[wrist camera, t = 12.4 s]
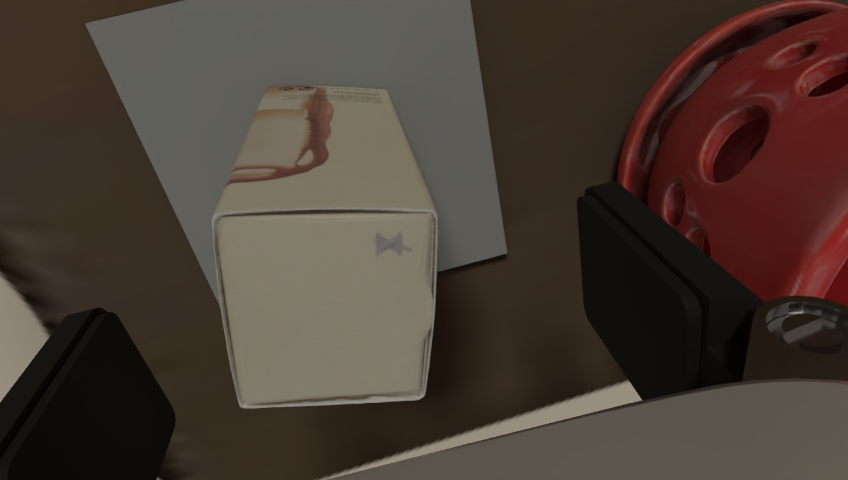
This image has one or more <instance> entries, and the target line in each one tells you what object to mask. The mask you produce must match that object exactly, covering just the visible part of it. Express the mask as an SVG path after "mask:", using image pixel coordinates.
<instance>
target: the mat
mask: <svg viewBox="0 0 848 480" xmlns="http://www.w3.org/2000/svg"><path fill="white" fill-rule="evenodd" d="M86 27H87V29H88V31H89V33H90V35H91V37H92V39H93V41H94V43H95V45H96V47H97V50H98V52H99V54H100V56H101V58H102V60H103V62H104V64H105V66H106V68H107V71H108V73H109V75H110V77H111V79H112V81H113V83H114V85H115V87H116V89H117V92H118V94H119V96H120V98H121V100H122V102H123V104H124V106H125V108H126V110H127V112H128V115H129V117H130V119H131V121H132V123H133V125H134V127H135V129H136V131H137V133H138V136H139V138H140V140H141V142H142V144H143V146H144V148H145V150H146V152H147V154H148V157H149V159H150V161H151V163H152V165H153V167H154V169H155V171H156V173H157V175H158V178H159V180H160V182H161V184H162V186H163V188H164V190H165V192H166V194H167V196H168V198H169V201H170V203H171V205H172V207H173V209H174V211H175V213H176V215H177V217H178V219H179V222H180V224H181V226H182V228H183V230H184V232H185V234H186V236H187V238H188V240H189V243H190V245H191V247H192V249H193V251H194V253H195V255H196V257H197V259H198V261H199V263H200V266H201V268H202V270H203V272H204V274H205V276H206V278H207V280H208V282H209V284H210V287H211V289H212V291H213V293H214V295H215V297H216V299H217V301H218V303H219V305H220V301H219V291H218V285H217V275H216V267H215V253H214V246H213V232H212V217H213V214H214V212H215V210H216V208H217V205H218V203H219V201H220V198H221V196H222V194H223V191H224V189H225V187H226V184H227V182H228V180H229V177H230V175H231V172H232V169H233V167H234V165H235V162H236V160H237V157H238V155H239V152H240V150H241V148H242V145H243V143H244V140H245V138H246V136H247V133H248V131H249V128H250V126H251V124H252V121H253V119H254V117H255V114H256V111H257V109H258V106H259V104H260V101H261V99H262V97H263V94H264V92H265V90H266V88H267V87H269V86H333V87H354V88H370V89H384V90H387V91H388V92H389V94H390V97H391V100H392V102H393V105H394V107H395V110H396V112H397V114H398V117H399V120H400V122H401V124H402V126H403V129H404V132H405V134H406V137H407V139H408V141H409V144H410V146H411V149H412V151H413V154H414V156H415V159H416V161H417V164H418V166H419V168H420V171H421V173H422V176H423V178H424V180H425V183H426V185H427V187H428V190H429V192H430V195H431V198H432V200H433V203H434V205H435V208H436V210H437V213H438V249H437V272H439V271H443V270H447V269H450V268H454V267H458V266H462V265H466V264H469V263H473V262H477V261H481V260H485V259H488V258H492V257H496V256H500V255H503V254H507V248H506V242H505V235H504V228H503V221H502V214H501V208H500V201H499V194H498V187H497V180H496V174H495V167H494V160H493V153H492V146H491V140H490V133H489V126H488V119H487V112H486V105H485V99H484V92H483V85H482V78H481V71H480V65H479V58H478V51H477V44H476V37H475V31H474V24H473V17H472V10H471V3H470V0H184V1H180V2H175V3H171V4H167V5H162V6H158V7H154V8H149V9H145V10H141V11H136V12H132V13H128V14H124V15H119V16H115V17H111V18H106V19H102V20H98V21H93V22H90V23H86Z"/></svg>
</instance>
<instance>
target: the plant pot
mask: <svg viewBox="0 0 848 480" xmlns="http://www.w3.org/2000/svg"><path fill="white" fill-rule="evenodd" d="M617 182H618V183H620V184H621V185H622V186H623V187H624V188H626V189H627V190H628V191H629V192H630V193H632V194H633V195H634V196H635V197H637V198H638V199H639V200H640V201H641V202H643V203H644V204H645V205H646V206H647V207H649V208H650V209H651V210H652V211H654V212H655V213H656V214H657V215H658V216H660V217H661V218H662V219H663V220H665V221H666V222H667V223H668V224H669V225H671V226H672V227H673V228H674V229H675V230H677V231H678V232H679V233H680V234H682V235H683V236H685V237H686V238H687V239H688V240H690V241H691V242H692V243H693V244H694V245H696V246H697V247H698V248H699V249H701V250H702V251H703V252H704V253H705V254H707V255H708V256H709V257H710V258H712V259H713V260H714V261H715V262H716V263H718V264H719V265H720V266H721V267H722V268H724V269H725V270H726V271H727V272H729V273H730V274H731V275H732V276H733V277H735V278H736V279H737V280H738V281H740V282H741V283H742V284H743V285H744V286H746V287H747V288H748V289H749V290H751V291H752V292H753V293H754V294H755V295H757V296H758V297H759V298H760V299H761V300H763V301H764V302H766V301H769V300H772V299H775V298H778V297H785V296H795V295H798V296H812V297H818V298H823V299H827V300H832V301H835V302H837V303H840V304H843V305H845V306H848V6H847V5H845V4H841V3H837V2H833V1H827V0H787V1H781V2H775V3H771V4H767V5H763V6H760V7H757V8H754V9H752V10H749V11H746V12H744V13H742V14H739V15H737V16H735V17H732V18H731V19H729V20H727V21H725V22H723V23H721V24H720V25H718V26H716V27H714V28H713V29H711V30H710V31H708V32H707V33H705V34H704V35H703V36H701V37H700V38H698V39H697V40H696V41H694V42H693V43H692V44H691V45H690V46H689V47H688V48H686V49H685V50H684V51H683V52H682V53H680V54H679V55H678V56H677V57H676V58H675V59H674V60H673V61H672V62H671V63H670V65H669V66H668V67H667V68H666V69H665V70H664V71H663V72H662V74H661V75H660V76H659V77H658V79H657V80H656V81H655V83H654V84H653V85H652V87H651V88H650V89H649V91H648V92H647V94H646V96H645V97H644V99H643V100H642V102H641V104H640V106H639V107H638V109H637V111H636V113H635V115H634V117H633V119H632V121H631V123H630V126H629V128H628V131H627V134H626V137H625V140H624V143H623V147H622V150H621V154H620V159H619V164H618V174H617Z"/></svg>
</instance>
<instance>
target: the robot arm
mask: <svg viewBox="0 0 848 480" xmlns="http://www.w3.org/2000/svg"><path fill="white" fill-rule="evenodd" d="M577 212H578V226H579V241H580V256H581V271H582V285H583V300H584V309H585V312H586V316H587V318H588V320H589V322H590V324H591V325H592V327H593V328H594V330H595V331H596V332H597V334H598V335H599V337H600V338H601V340H602V341H603V343H604V344H605V346H606V347H607V349H608V350H609V352H610V353H611V355H612V356H613V358H614V359H615V361H616V362H617V363H618V365H619V366H620V368H621V369H622V371H623V372H624V374H625V375H626V377H627V378H628V380H629V381H630V383H631V384H632V385H633V387H634V389H635V390H636V392H637V393H638V394H639V396H640V397H641V399H642V400H643V401H638V402H634V403H629V404H625V405H621V406H617V407H614V408H609V409H605V410H601V411H597V412H594V413H589V414H586V415H581V416H577V417H574V418H569V419H566V420H561V421H557V422H553V423H549V424H545V425H541V426H538V427H533V428H530V429H525V430H521V431H517V432H513V433H510V434H505V435H501V436H497V437H493V438H489V439H485V440H482V441H478V442H473V443H469V444H465V445H462V446H458V447H454V448H450V449H446V450H442V451H438V452H434V453H430V454H426V455H422V456H418V457H414V458H410V459H406V460H403V461H399V462H395V463H391V464H387V465H383V466H379V467H375V468H371V469H367V470H363V471H359V472H355V473H352V474H348V475H344V476H340V477H336V478H332V479H328V480H848V306H845V305H843V304H840V303H837V302H835V301H832V300H827V299H823V298H818V297H812V296H798V295H795V296H785V297H778V298H775V299H772V300H769V301H766V302H764V301H763V300H761V299H760V298H759V297H758V296H757V295H755V294H754V293H753V292H752V291H751V290H749V289H748V288H747V287H746V286H744V285H743V284H742V283H741V282H740V281H738V280H737V279H736V278H735V277H733V276H732V275H731V274H730V273H729V272H727V271H726V270H725V269H724V268H722V267H721V266H720V265H719V264H718V263H716V262H715V261H714V260H713V259H712V258H710V257H709V256H708V255H707V254H705V253H704V252H703V251H702V250H701V249H699V248H698V247H697V246H696V245H694V244H693V243H692V242H691V241H690V240H688V239H687V238H686V237H685V236H683V235H682V234H680V233H679V232H678V231H677V230H675V229H674V228H673V227H672V226H671V225H669V224H668V223H667V222H666V221H665V220H663V219H662V218H661V217H660V216H658V215H657V214H656V213H655V212H654V211H652V210H651V209H650V208H649V207H647V206H646V205H645V204H644V203H643V202H641V201H640V200H639V199H638V198H637V197H635V196H634V195H633V194H632V193H630V192H629V191H628V190H627V189H626V188H624V187H623V186H622V185H621V184H620V183H618V182H616V181H613V182H609V183H605V184H601V185H596V186H592V187H588V188H587V189H586V190H585V196H581V197H579V198H578V200H577ZM175 420H176V419H175V413H174V410H173V408H172V406H171V404H170V402H169V401H168V399H167V397H166V396H165V394H164V392H163V391H162V389H161V387H160V386H159V384H158V382H157V381H156V379H155V377H154V376H153V374H152V372H151V371H150V369H149V367H148V366H147V364H146V362H145V361H144V359H143V357H142V356H141V354H140V352H139V351H138V349H137V347H136V346H135V344H134V342H133V341H132V339H131V337H130V336H129V334H128V332H127V331H126V329H125V327H124V326H123V324H122V322H121V321H120V319H119V318H118V316H117V315H116V314H114V313H112V312H109V313H108V312H107V311H105V310H104V309H102V308H95V309H91V310H87V311H83V312H79V313H75V314H71V315H67V316H66V317H65V318H64V319H63V320H62V322H61V323H60V324H59V326H58V327H57V328H56V330H55V331H54V332H53V334H52V335H51V336H50V337H49V339H48V340H47V341H46V343H45V344H44V346H43V347H42V348H41V350H40V351H39V352H38V353H37V355H36V356H35V357H34V359H33V360H32V361H31V363H30V364H29V365H28V367H27V368H26V369H25V371H24V372H23V373H22V375H21V376H20V377H19V379H18V380H17V381H16V383H15V384H14V385H13V387H12V388H11V389H10V391H9V392H8V393H7V394H6V396H5V397H4V398H3V400H2V401H1V402H0V480H156V479H157V476H158V474H159V471H160V468H161V465H162V462H163V459H164V456H165V453H166V451H167V448H168V445H169V442H170V439H171V436H172V433H173V430H174V427H175Z"/></svg>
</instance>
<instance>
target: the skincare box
mask: <svg viewBox="0 0 848 480" xmlns="http://www.w3.org/2000/svg"><path fill="white" fill-rule="evenodd" d="M212 232H213V246H214V253H215V267H216V275H217V285H218V291H219V301H220V308H221V314H222V321H223V327H224V333H225V338H226V345H227V352H228V357H229V362H230V367H231V372H232V376H233V381H234V385H235V390H236V394H237V399H238V403H239V406H240V407H241V408H263V407H293V406H320V405H340V404H363V403H379V402H393V401H413V400H420V399H421V398H423V397H424V396H425V393H426V387H427V379H428V371H429V365H430V354H431V347H432V338H433V329H434V319H435V304H436V283H437V249H438V213H437V210H436V208H435V205H434V203H433V200H432V198H431V195H430V192H429V190H428V187H427V185H426V183H425V180H424V178H423V176H422V173H421V171H420V168H419V166H418V164H417V161H416V159H415V156H414V154H413V151H412V149H411V146H410V144H409V141H408V139H407V137H406V134H405V132H404V129H403V126H402V124H401V122H400V120H399V117H398V114H397V112H396V110H395V107H394V105H393V102H392V100H391V97H390V94H389V92H388V91H387V90H384V89H370V88H354V87H333V86H269V87H267V88H266V90H265V92H264V94H263V97H262V99H261V101H260V104H259V106H258V109H257V111H256V114H255V117H254V119H253V121H252V124H251V126H250V128H249V131H248V133H247V136H246V138H245V140H244V143H243V145H242V148H241V150H240V152H239V155H238V157H237V160H236V162H235V165H234V167H233V169H232V172H231V175H230V177H229V180H228V182H227V184H226V187H225V189H224V191H223V194H222V196H221V198H220V201H219V203H218V205H217V208H216V210H215V212H214V214H213V217H212Z"/></svg>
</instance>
